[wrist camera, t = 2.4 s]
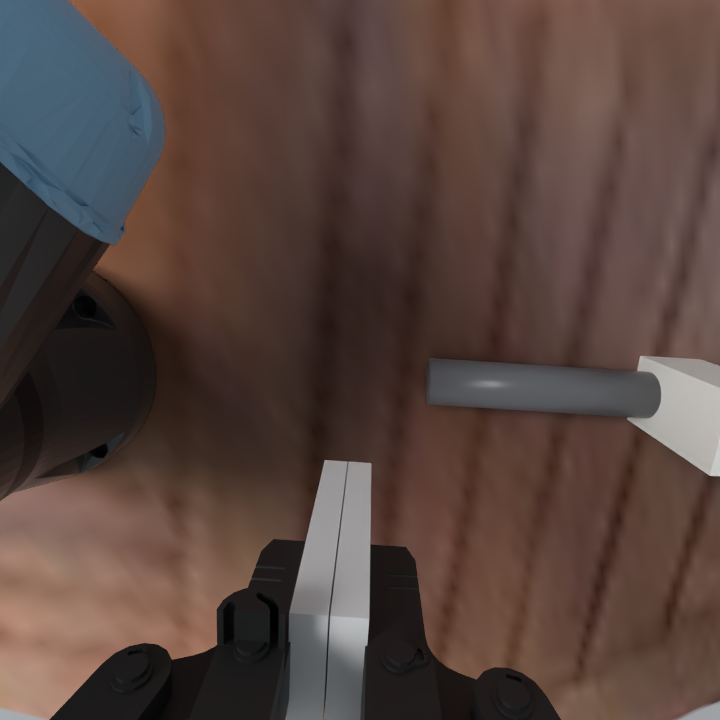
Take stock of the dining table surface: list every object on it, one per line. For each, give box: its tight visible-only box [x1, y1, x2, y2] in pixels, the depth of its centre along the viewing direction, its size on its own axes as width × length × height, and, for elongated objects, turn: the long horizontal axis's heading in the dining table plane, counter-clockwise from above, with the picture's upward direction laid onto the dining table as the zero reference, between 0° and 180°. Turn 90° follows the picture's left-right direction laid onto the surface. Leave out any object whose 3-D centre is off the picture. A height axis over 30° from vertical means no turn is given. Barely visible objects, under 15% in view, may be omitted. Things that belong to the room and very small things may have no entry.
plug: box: [425, 356, 720, 476], centre depth 27 cm, size 18×4×8 cm, turn 87°
